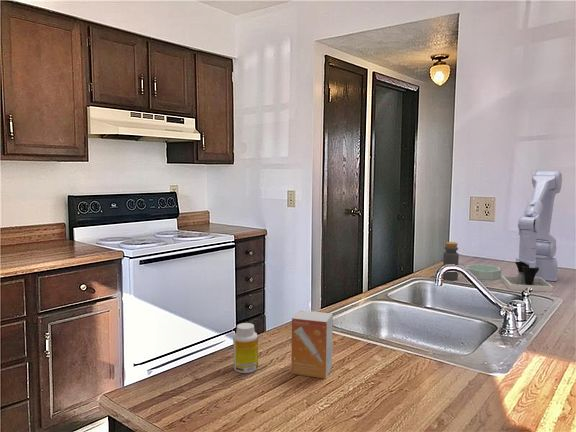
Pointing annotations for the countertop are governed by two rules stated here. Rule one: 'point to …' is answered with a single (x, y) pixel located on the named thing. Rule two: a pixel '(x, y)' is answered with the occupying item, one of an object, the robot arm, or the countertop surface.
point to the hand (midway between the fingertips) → (525, 282)
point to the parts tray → (545, 287)
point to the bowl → (484, 271)
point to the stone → (522, 279)
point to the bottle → (451, 260)
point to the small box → (312, 343)
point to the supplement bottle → (245, 348)
